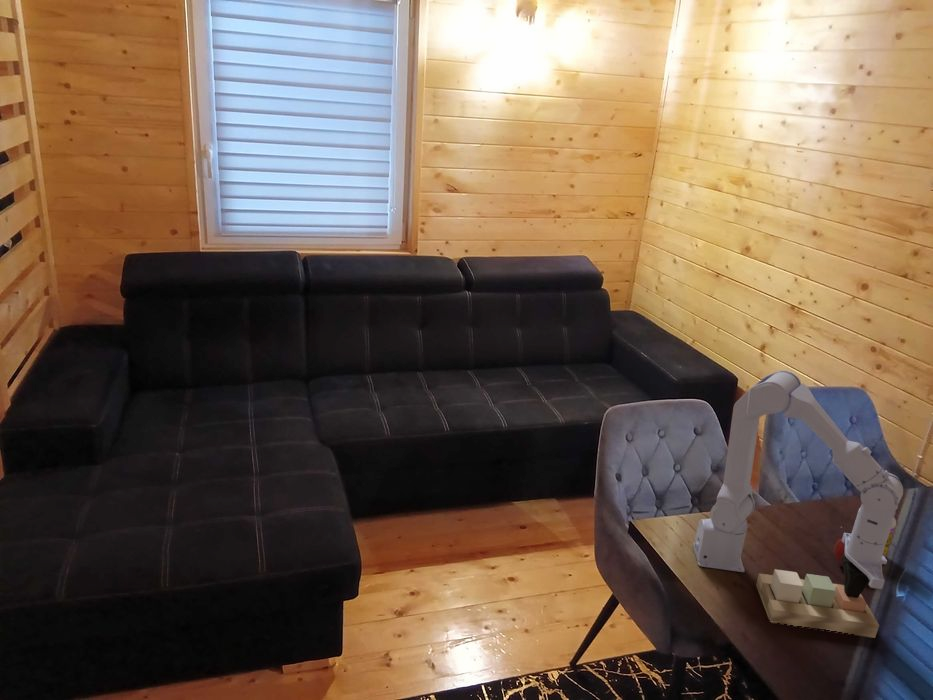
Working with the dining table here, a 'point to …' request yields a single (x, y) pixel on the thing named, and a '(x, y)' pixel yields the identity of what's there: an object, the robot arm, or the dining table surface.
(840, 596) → the salmon pink cube
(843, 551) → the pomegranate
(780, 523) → the dining table surface
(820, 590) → the sage key
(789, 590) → the cream key
